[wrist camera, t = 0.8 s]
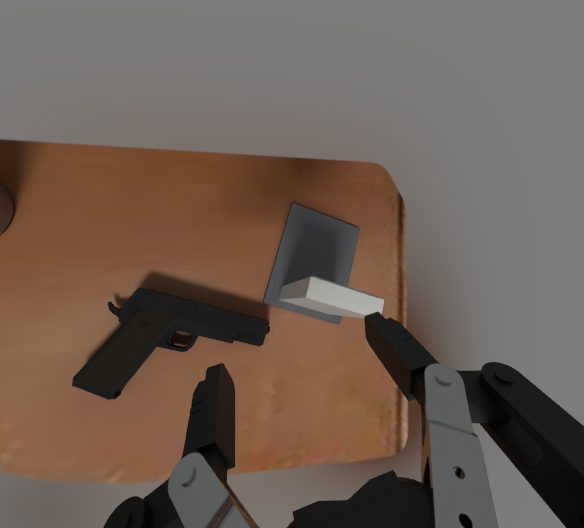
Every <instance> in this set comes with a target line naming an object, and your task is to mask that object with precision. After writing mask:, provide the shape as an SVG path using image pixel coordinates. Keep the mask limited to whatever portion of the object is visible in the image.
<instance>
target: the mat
mask: <svg viewBox="0 0 584 528" xmlns="http://www.w3.org/2000/svg"><path fill="white" fill-rule="evenodd" d="M358 234H359V228H357V227H354V226H352V225H349V224H347V223H344V222H341V221H339V220H336V219H334V218H331V217H329V216H326V215H323V214H321V213H318V212H316V211H313V210H311V209H308V208H305V207H303V206H300V205H298V204H295V203H292V205H291V209H290V212H289V215H288V219H287V222H286V225H285V229H284V232H283V236H282V239H281V242H280V246H279V249H278V253H277V256H276V259H275V263H274V266H273V270H272V273H271V276H270V280H269V283H268V286H267V290H266V293H265V297H264V300H263V303H265V304H269V305H273V306H276V307H280V308H283V309H287V310H290V311H294V312H297V313H301V314H304V315H308V316H311V317H315V318H318V319H322V320H325V321H329V322H332V323H336V324H340V321H341V316H339V315H330V314H326V313H323V312H319V311H316V310H312V309H309V308H305V307H302V306H299V305H295V304H292V303H288V302H285V301H281V300H279V297H280V294H281V290H282V286H285V285H288V284H290V283H293V282H296V281H299V280H302V279H305V278H308V277H312V276H317V277H320V278H323V279H326V280H329V281H332V282H335V283H338V284H341V285H344V286H347V287H348V282H349V277H350V273H351V268H352V263H353V258H354V253H355V248H356V243H357V238H358Z"/></svg>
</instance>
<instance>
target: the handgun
mask: <svg viewBox="0 0 584 528" xmlns="http://www.w3.org/2000/svg"><path fill="white" fill-rule="evenodd" d="M126 304H127V305H126V306H125V307H124V308H117V307H115V306H114V305H113V304H112V303H111V302H108V307H109V310H110V311H111V312H112V313H113V314H114V315H116V316H117V317H119V322H120V323H123V325H122V326H121V327H120V328H119V329H118V330H117V331H116V333H115V334H114V335H113V336H112V337H111V338H110V339H109V340H108V341H107V342H106V343H105V344H104V345H103V346H102V347H101V349H100V350H99V351H98V352H97V353H96V354H95V355H94V356H93V357H92V358H91V359H90V360H89V361H88V362H87V363H86V365H85V366H84V367H83V368H82V369H81V370H80V371H79V372H78V373H77V374H76V375H75V376H74V377H73V382H72V386H75V387H78V388H80V389H83V390H85V391H88V392H90V393H93V394H96V395H98V396H101V397H103V398H106V399H116V398H117V397H118V396H120V394H121V389H122V388H123V387H124V386H125V385H126V384H127V382H128V381H129V380H130V379H131V378H132V376H133V375H134V374H135V373H136V371H137V370H138V369H139V368H140V367H141V365H142V364H143V363H144V362H145V360H146V359H147V358H148V357H149V355H150V354H151V353H152V352H153V351H154V349H155V348H156V347H161V348H166V349H171V350H175V351H180V352H184V351H187V350H188V349H190V348H191V347H192V346H193V345H194V343H195V341H196V339H197V337H198V336H203V337H207V338H211V339H216V340H220V341H224V342H228V343H233V341H234V340H235V341H239V342H243V343H248V344H252V345H256V346H261V345H263V342H264V339H265V335H266V334H267V333H269V331H270V327H269V323H268V321H266V320H263V319H259V318H255V317H252V316H248V315H244V314H240V313H237V312H233V311H229V310H225V309H221V308H218V307H214V306H210V305H206V304H203V303H199V302H195V301H191V300H187V299H184V298H180V297H176V296H172V295H169V294H165V293H161V292H157V291H153V290H150V289H145V288H138V289H137V290H136V291H135V292H134V293H133V294H132V296H131V297H130V299H129V300H128V301H127V303H126ZM176 331H182V332H186V333H190V334H192V339H191V342H190V344H189V345H188V346H185V347H182V346H178V345H174V343H173V341H172V338H173V336H174V333H175V332H176Z"/></svg>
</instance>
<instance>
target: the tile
mask: <svg viewBox="0 0 584 528" xmlns="http://www.w3.org/2000/svg"><path fill="white" fill-rule="evenodd" d="M279 300H281V301H285V302H288V303H292V304H295V305H299V306H302V307H305V308H309V309H312V310H316V311H319V312H323V313H326V314H330V315H339V316H348V317H358V318H364V317H365V316H366V315H369V314H372V313H375V312H379V313H380V314H381V315H382V310H383V304H384V300H382V299H379V298H378V296H375V295H372V294H369V293H366V292H363V291H360V290H357V289H353V288H350V287H347V286H344V285H341V284H338V283H335V282H332V281H329V280H326V279H323V278H320V277H317V276H312V277H308V278H305V279H302V280H299V281H296V282H293V283H290V284H288V285H285V286H282V290H281V294H280V297H279Z"/></svg>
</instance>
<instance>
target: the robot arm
mask: <svg viewBox="0 0 584 528" xmlns="http://www.w3.org/2000/svg"><path fill="white" fill-rule="evenodd" d="M12 215H13V202H12V199H11V197H10V195H9V193H8V192H7V190H6V189H5V188H4V187H3V186H2V185H0V234H1V233H2V232H3V231H4V230H5V229H6V227H7V226H8V225H9V223H10V221H11V218H12ZM364 319H365V334H366V339H367V341H368V343H369V345H370V347H371V348H372V349H373V351H374V352H375V354H376V355H377V357H378V358H379V360H380V361H381V362H382V364H383V365H384V367H385V368H386V370H387V371H388V372H389V374H390V375H391V377H392V378H393V380H394V381H395V383H396V384H397V385H398V387H399V388H400V390H401V391H402V393H403V394H404V396H405V397H406V398H407V400H408V401H411V400H413V399H416V400H417V401H418V403H419V404H420V423H421V482H418V481H416V480H413V479H410V478H404V477H397V476H396V474H395V472H394V470H392V471H390V472H387V473H385V474H382V475H380V476H377V477H375V478H373V479H370V480H369V481H368V482H367V483H366V484H365V485H363V486H362V487H361V488H360V489H359V490H358V491H357V492H356V493H355V494H354V495H353V496H352V497H351V498H349V499H348V500H342V501H317V502H315V503H313V504H310V505H308V506H305V507H303V508H300V509H298V510H296V511H293V517H294V521H293V522H291V523H290V524H289V526H288V527H287V528H499V527H498V523H497V518H496V513H495V509H494V504H493V499H492V495H491V490H490V485H489V480H488V475H487V471H486V466H485V461H484V457H483V452H482V447H481V443H480V440H479V438H478V436H477V435H475V434H474V432H473V428H472V423H480V425H481V426H482V427H483V428H484V429H485V431H486V432H487V433H488V434H489V435H490V437H491V438H492V439H493V440H494V441H495V442H496V444H497V445H498V446H499V447H500V448H501V450H502V451H503V452H504V453H505V455H506V456H507V457H508V458H509V459H510V461H511V462H512V463H513V464H514V465H515V467H516V468H517V469H518V470H519V471H520V473H521V474H522V475H523V476H524V477H525V479H526V480H527V481H528V482H529V483H530V485H531V486H532V487H533V488H534V489H535V490H536V492H537V493H538V494H539V495H540V497H541V498H542V499H543V500H544V501H545V503H546V504H547V505H548V506H549V507H550V509H551V510H552V511H553V512H554V513H555V515H556V516H557V517H558V518H559V519H560V521H561V522H562V523H563V524H564V525H565V527H566V528H584V426H583V425H582V424H580V423H579V422H578V421H577V420H576V419H574V418H573V417H572V416H571V415H570V414H568V413H567V412H566V411H565V410H564V409H562V408H561V407H560V406H559V405H558V404H556V403H555V402H554V401H553V400H552V399H550V398H549V397H548V396H547V395H545V393H543V392H542V391H541V390H540V389H538V388H537V387H536V386H535V385H534V384H533V383H531V382H530V381H529V380H528V379H526V378H525V377H524V376H523V375H522V374H520V373H519V372H518V371H517V370H515V369H513V368H512V367H510V366H508V365H505V364H501V363H497V362H490V363H486V364H485V365H483V367H482V370H481V371H457V370H454V369H453V368H451V367H449V366H447V365H443V364H440V363H438V362H437V361H436V360H435V359H434V358H433V357H432V356H431V354H430V353H429V352H428V351H427V350H426V349H425V348H424V347H423V346H422V345H421V344H420V343H419V342H418V341H417V340H416V339H415V338H413V336H412V335H411V334H410V333H409V332H408V331H407V330H406V328H405V327H404V326H403V325H402V324H401V323H399V322H398V321H396V320H394V319H392V318H388V319H385V318H384V317H383V316H382V315H381V314H380V313H379V312H375V313H372V314H369V315H366V316H365V317H364ZM191 405H192V407H191V410H190V416H189V421H188V427H187V433H186V439H185V445H184V450H183V455H182V458H181V460H180V461H179V462H178V464H177V465H176V466H175V468H174V470H173V471H172V473H171V476H170V478H169V479H168V480H167V481H165V482H164V483H163V484H162V485H160V486H159V487H158V488H156V489H155V490H154V491H153V492H152V493H150V494H149V495H148V496H146V497H145V498H144V499H141V498H140V497H137V496H135V497H131V498H128V499H126V500H125V501H124V502H122V503H121V504H120V505H119V506H118V507H117V508H116V509H115V510H114V511H113V513H112V514H111V515H110V517H109V518H108V520H107V522H106V524H105V525H104V528H259V526H258V525H257V524H256V523H255V522H254V520H253V519H252V517H251V516H250V514H249V513H248V512H247V510H246V509H245V507H244V506H243V505H242V503H241V502H240V500H239V499H238V498H237V496H236V495H235V494H234V492H233V490H232V489H231V488H230V486H229V485H228V484H227V470H228V469H231V468H234V467H235V387H234V383H233V380H232V378H231V376H230V374H229V373H228V371H227V369H226V367H225V365H224V364H223V363H221V364H218V365H215V366H212V367H209V368H207V371H206V379H205V380H204V381H201V382H199V383H198V385H197V387H196V389H195V391H194V393H193V398H192V404H191Z"/></svg>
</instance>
